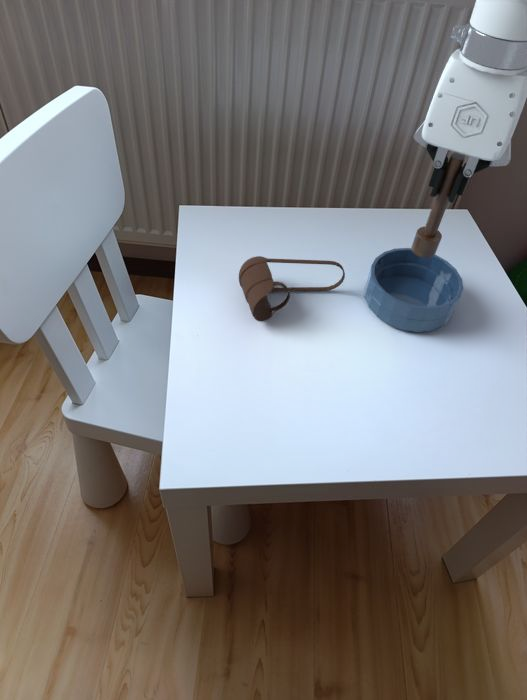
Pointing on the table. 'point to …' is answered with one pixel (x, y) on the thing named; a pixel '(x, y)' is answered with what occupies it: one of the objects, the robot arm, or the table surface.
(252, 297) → the brown barrel bag
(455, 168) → the stirring stick
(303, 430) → the table surface
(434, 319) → the bowl
